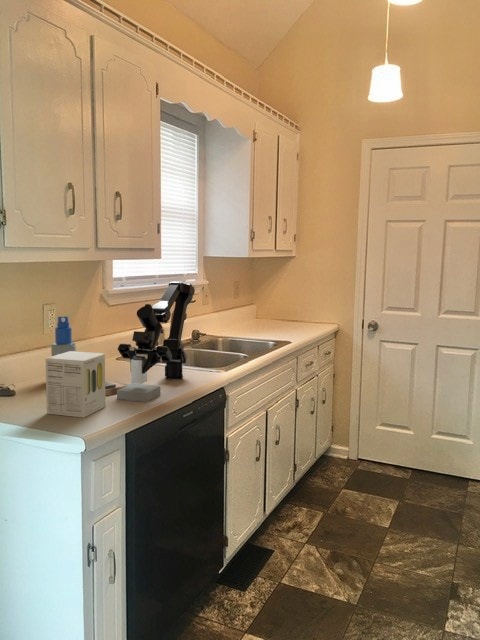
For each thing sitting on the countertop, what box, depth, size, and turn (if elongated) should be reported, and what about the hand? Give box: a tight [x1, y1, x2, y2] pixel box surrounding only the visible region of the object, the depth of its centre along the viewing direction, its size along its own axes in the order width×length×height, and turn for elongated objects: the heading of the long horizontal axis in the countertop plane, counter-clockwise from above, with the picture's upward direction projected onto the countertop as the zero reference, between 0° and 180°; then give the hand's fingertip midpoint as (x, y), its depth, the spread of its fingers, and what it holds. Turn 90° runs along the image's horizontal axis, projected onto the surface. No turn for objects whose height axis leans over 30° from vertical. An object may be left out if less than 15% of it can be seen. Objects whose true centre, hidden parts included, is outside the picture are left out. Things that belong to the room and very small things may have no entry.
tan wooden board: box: [105, 380, 129, 397], centre depth 191 cm, size 12×8×3 cm, turn 139°
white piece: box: [130, 355, 148, 384], centre depth 184 cm, size 4×4×9 cm
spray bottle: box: [50, 315, 77, 357], centre depth 205 cm, size 9×9×25 cm
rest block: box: [116, 383, 161, 403], centre depth 185 cm, size 11×11×3 cm
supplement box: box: [45, 350, 106, 419], centre depth 167 cm, size 13×13×18 cm
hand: (137, 372), depth 183 cm, fingers closed on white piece, 4 cm apart
